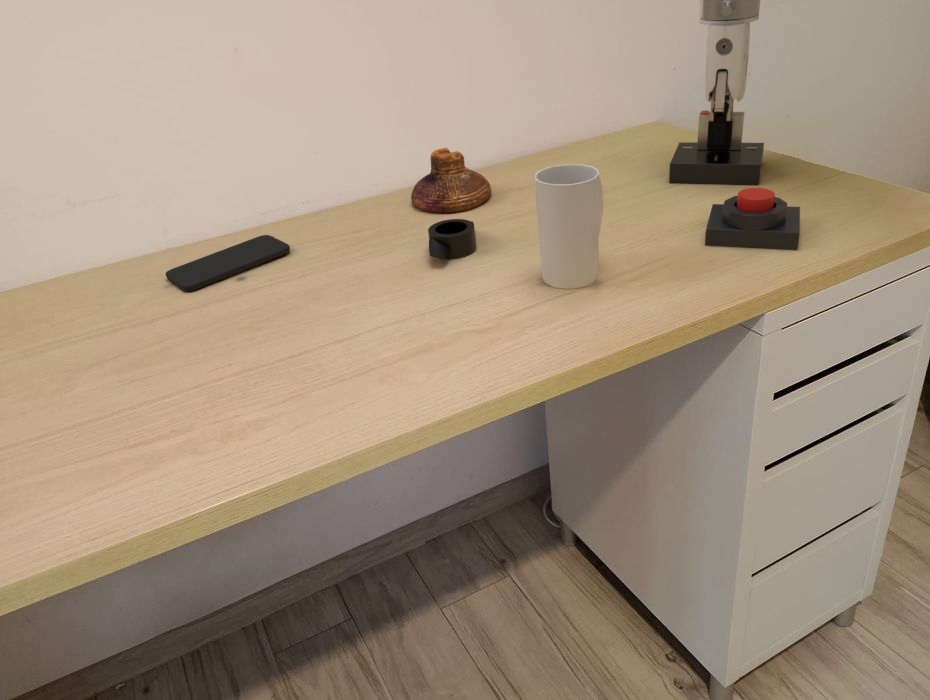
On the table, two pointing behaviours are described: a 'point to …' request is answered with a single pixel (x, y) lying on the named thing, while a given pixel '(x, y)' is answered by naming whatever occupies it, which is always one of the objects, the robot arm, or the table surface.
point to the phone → (226, 262)
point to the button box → (753, 226)
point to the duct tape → (452, 239)
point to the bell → (450, 185)
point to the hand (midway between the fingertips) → (719, 145)
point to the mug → (569, 224)
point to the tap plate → (716, 165)
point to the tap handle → (735, 136)
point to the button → (755, 200)
